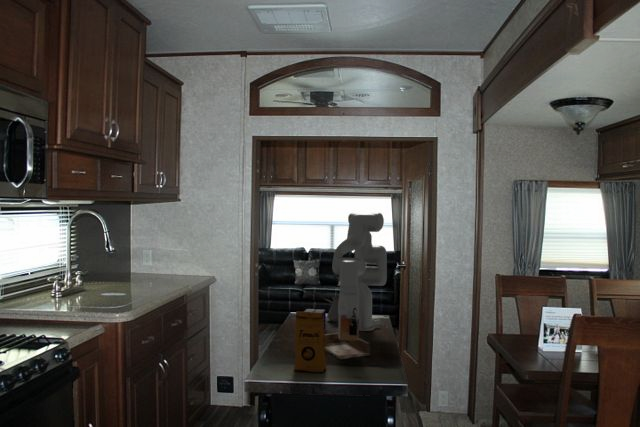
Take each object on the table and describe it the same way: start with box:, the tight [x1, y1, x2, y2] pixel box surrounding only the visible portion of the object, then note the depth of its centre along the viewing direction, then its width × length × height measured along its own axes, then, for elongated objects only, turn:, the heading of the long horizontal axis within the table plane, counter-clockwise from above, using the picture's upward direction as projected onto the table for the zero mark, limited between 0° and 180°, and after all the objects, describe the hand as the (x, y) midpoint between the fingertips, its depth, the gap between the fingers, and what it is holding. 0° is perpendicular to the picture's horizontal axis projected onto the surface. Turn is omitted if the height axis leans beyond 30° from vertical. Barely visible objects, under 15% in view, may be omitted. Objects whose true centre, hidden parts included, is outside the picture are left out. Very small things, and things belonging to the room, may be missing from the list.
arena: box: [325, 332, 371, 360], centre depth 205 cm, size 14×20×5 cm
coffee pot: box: [309, 291, 339, 323], centre depth 260 cm, size 21×12×15 cm, turn 76°
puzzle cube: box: [303, 308, 327, 330], centre depth 237 cm, size 10×10×10 cm
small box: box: [337, 313, 360, 340], centre depth 200 cm, size 8×6×10 cm
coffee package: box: [293, 311, 328, 373], centre depth 181 cm, size 10×12×22 cm
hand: (348, 332), depth 200 cm, fingers closed on small box, 7 cm apart
